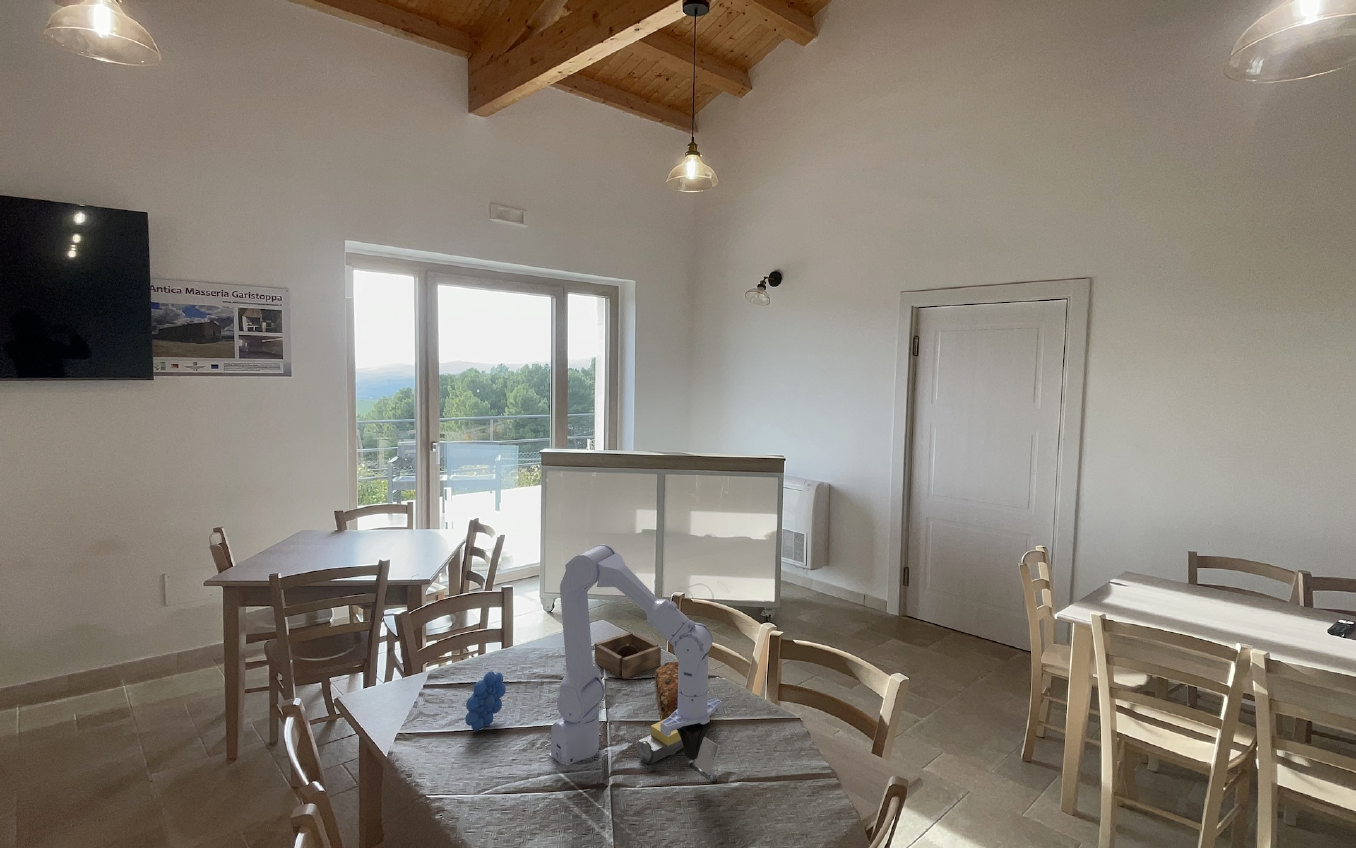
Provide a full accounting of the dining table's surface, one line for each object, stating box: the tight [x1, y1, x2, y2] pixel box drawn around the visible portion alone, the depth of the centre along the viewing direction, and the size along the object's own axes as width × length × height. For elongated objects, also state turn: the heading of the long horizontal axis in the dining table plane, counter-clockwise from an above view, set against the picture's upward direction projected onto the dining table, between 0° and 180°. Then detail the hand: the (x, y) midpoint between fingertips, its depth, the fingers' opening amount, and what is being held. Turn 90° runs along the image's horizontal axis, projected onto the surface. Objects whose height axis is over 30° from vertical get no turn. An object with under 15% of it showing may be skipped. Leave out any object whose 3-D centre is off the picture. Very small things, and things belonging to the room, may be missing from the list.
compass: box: [616, 643, 638, 658], centre depth 184 cm, size 8×8×7 cm
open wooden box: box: [594, 632, 662, 679], centre depth 186 cm, size 13×13×5 cm
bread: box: [654, 661, 679, 721], centre depth 160 cm, size 19×11×10 cm, turn 6°
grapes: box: [464, 670, 507, 732], centre depth 153 cm, size 12×7×12 cm, turn 152°
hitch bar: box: [636, 734, 718, 783], centre depth 138 cm, size 13×16×5 cm
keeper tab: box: [689, 736, 721, 781], centre depth 136 cm, size 6×6×1 cm
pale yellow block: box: [650, 719, 681, 756], centre depth 142 cm, size 5×5×6 cm
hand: (691, 757), depth 133 cm, fingers closed
